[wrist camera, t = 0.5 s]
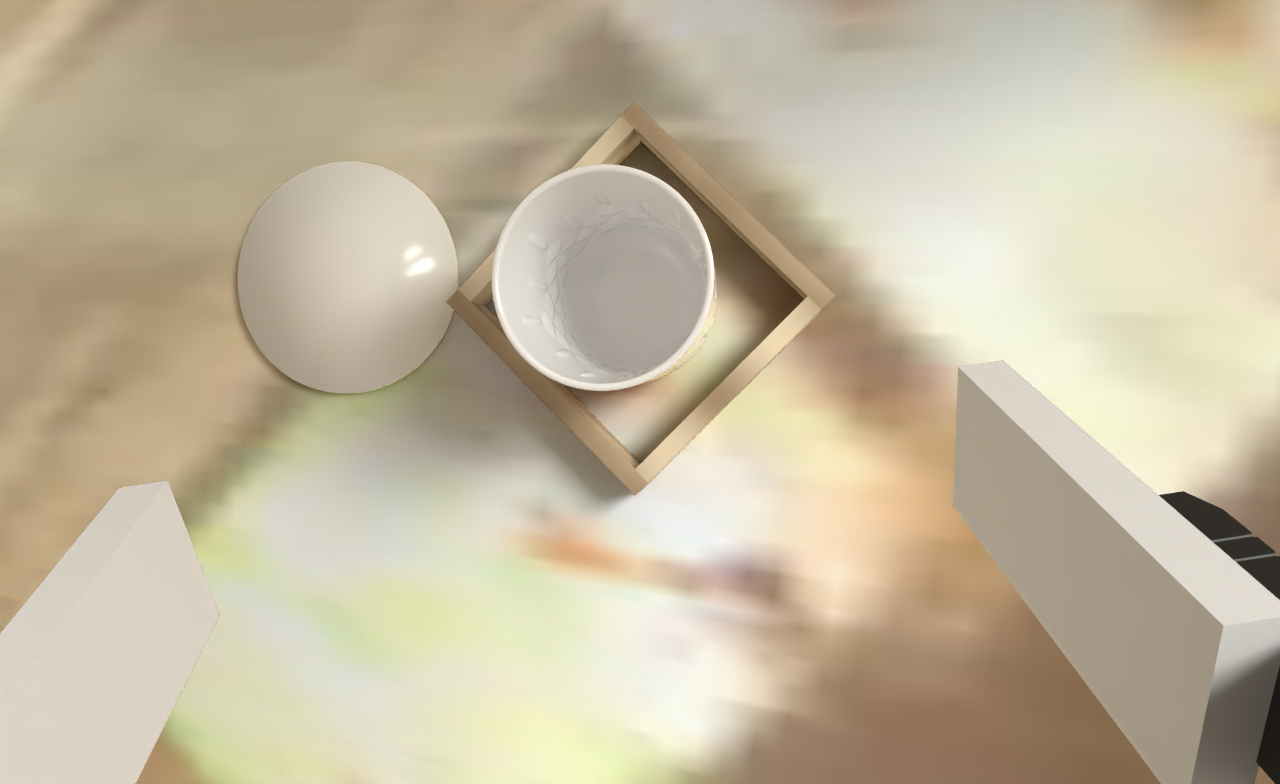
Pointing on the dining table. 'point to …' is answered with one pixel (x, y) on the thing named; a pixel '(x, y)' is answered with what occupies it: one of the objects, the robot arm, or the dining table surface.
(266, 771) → the dining table surface
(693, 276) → the white cup
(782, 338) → the frame
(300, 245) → the coaster
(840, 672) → the dining table surface
